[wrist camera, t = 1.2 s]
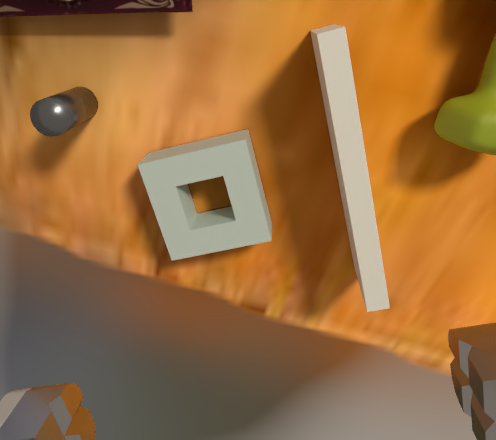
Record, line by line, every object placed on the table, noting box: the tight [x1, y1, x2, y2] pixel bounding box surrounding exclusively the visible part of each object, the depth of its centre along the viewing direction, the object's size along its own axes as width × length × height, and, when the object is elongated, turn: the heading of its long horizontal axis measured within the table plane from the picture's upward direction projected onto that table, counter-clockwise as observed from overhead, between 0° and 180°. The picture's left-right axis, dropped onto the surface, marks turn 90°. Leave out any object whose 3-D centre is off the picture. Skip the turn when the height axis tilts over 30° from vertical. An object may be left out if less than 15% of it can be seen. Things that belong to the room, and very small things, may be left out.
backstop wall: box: [310, 25, 390, 312], centre depth 41 cm, size 24×2×8 cm, turn 14°
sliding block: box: [138, 129, 272, 261], centre depth 45 cm, size 10×10×4 cm
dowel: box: [30, 87, 98, 136], centre depth 41 cm, size 3×3×7 cm
